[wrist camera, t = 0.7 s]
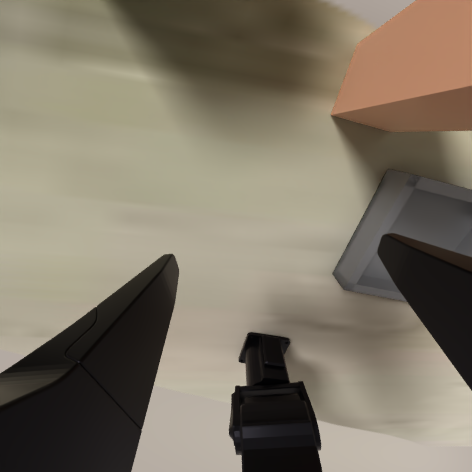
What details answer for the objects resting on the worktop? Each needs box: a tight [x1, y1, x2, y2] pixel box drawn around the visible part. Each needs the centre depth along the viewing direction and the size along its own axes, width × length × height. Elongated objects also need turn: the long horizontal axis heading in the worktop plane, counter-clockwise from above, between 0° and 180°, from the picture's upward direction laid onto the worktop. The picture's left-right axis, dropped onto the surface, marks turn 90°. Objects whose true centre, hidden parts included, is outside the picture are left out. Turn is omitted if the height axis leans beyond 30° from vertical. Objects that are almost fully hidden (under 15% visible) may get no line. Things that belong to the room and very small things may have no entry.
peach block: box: [331, 0, 472, 132], centre depth 11 cm, size 5×6×15 cm
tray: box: [333, 169, 472, 302], centre depth 23 cm, size 13×13×3 cm
